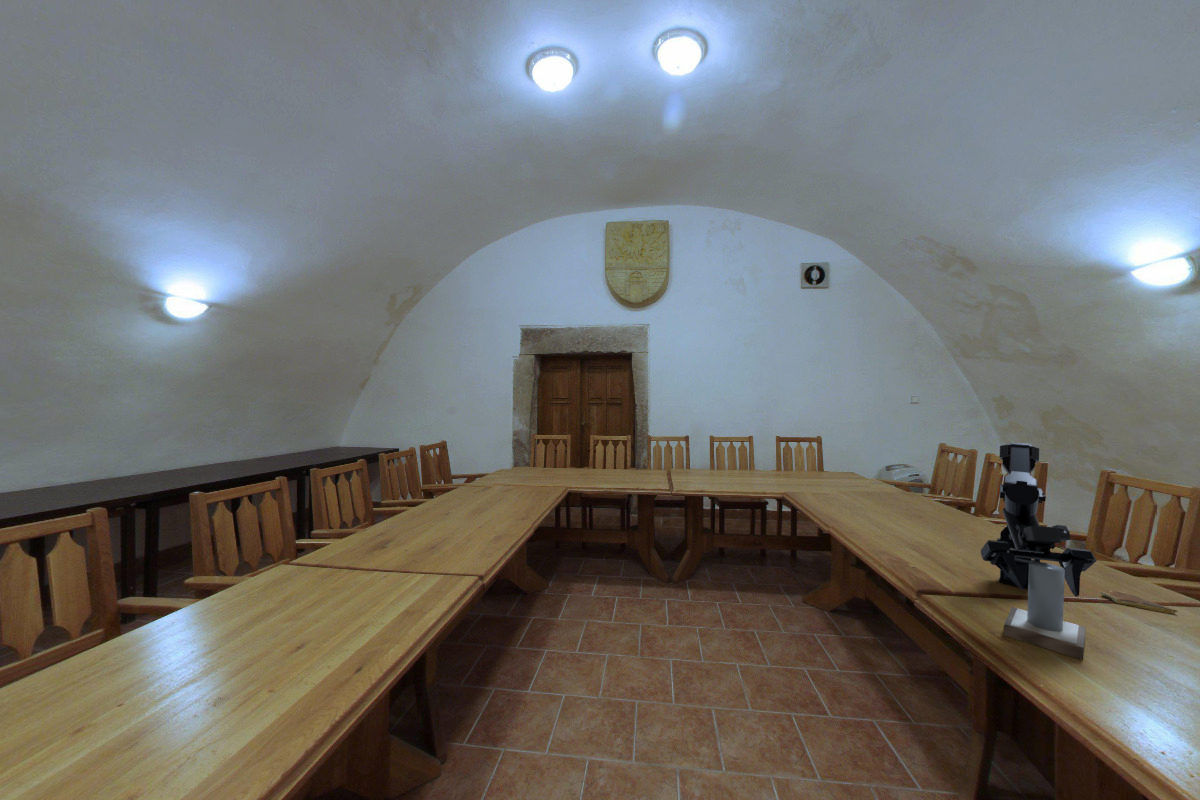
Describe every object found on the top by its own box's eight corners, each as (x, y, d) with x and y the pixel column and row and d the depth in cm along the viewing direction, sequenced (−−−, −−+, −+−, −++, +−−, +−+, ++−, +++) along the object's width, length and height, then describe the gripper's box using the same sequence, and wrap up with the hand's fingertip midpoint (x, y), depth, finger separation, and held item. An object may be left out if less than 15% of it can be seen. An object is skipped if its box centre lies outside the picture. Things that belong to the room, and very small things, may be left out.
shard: (1178, 617, 109) (1178, 609, 109) (1150, 618, 108) (1150, 611, 108) (1122, 596, 120) (1122, 589, 120) (1096, 597, 119) (1097, 590, 119)
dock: (1003, 635, 100) (1004, 623, 100) (1011, 617, 108) (1011, 606, 108) (1083, 659, 91) (1083, 646, 91) (1085, 638, 99) (1085, 626, 99)
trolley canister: (1025, 624, 100) (1027, 566, 99) (1028, 615, 103) (1030, 559, 103) (1061, 634, 95) (1063, 574, 95) (1063, 625, 99) (1065, 567, 99)
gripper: (987, 506, 106) (1009, 570, 96) (1092, 514, 99) (1127, 584, 89) (972, 529, 113) (991, 591, 103) (1068, 538, 107) (1099, 605, 97)
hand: (1049, 592), depth 98 cm, fingers open, 9 cm apart
